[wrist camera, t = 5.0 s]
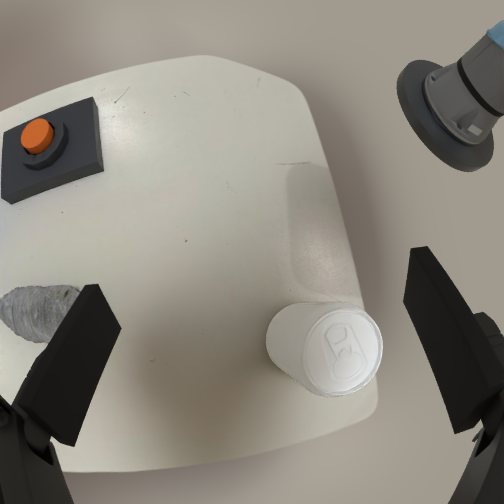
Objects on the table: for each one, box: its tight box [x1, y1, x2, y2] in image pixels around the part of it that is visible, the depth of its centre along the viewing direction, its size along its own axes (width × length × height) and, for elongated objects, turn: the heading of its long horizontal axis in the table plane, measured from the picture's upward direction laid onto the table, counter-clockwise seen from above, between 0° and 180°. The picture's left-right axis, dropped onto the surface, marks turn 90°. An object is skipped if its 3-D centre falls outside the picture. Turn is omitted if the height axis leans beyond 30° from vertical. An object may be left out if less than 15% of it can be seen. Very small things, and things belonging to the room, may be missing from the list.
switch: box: [21, 118, 54, 154], centre depth 29 cm, size 4×4×2 cm
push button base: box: [1, 97, 104, 204], centre depth 31 cm, size 14×10×4 cm
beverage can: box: [266, 302, 383, 397], centre depth 29 cm, size 8×8×12 cm
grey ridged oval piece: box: [0, 285, 80, 343], centre depth 28 cm, size 6×14×8 cm, turn 95°
